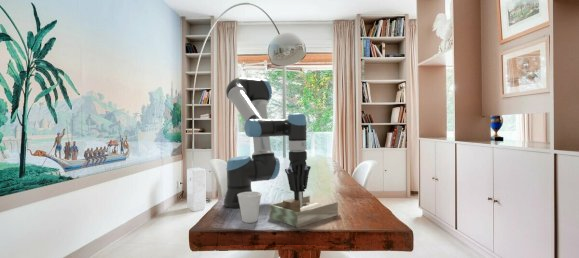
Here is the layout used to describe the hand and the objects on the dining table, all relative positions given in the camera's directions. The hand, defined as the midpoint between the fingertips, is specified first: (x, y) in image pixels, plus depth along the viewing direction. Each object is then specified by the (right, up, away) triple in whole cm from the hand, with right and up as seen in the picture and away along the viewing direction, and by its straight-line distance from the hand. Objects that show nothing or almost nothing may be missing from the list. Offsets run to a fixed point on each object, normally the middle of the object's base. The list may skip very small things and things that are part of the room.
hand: (298, 207), depth 132 cm
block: (-3, -2, -3) cm, 4 cm away
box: (+2, -4, +2) cm, 5 cm away
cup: (-20, -5, -3) cm, 21 cm away
